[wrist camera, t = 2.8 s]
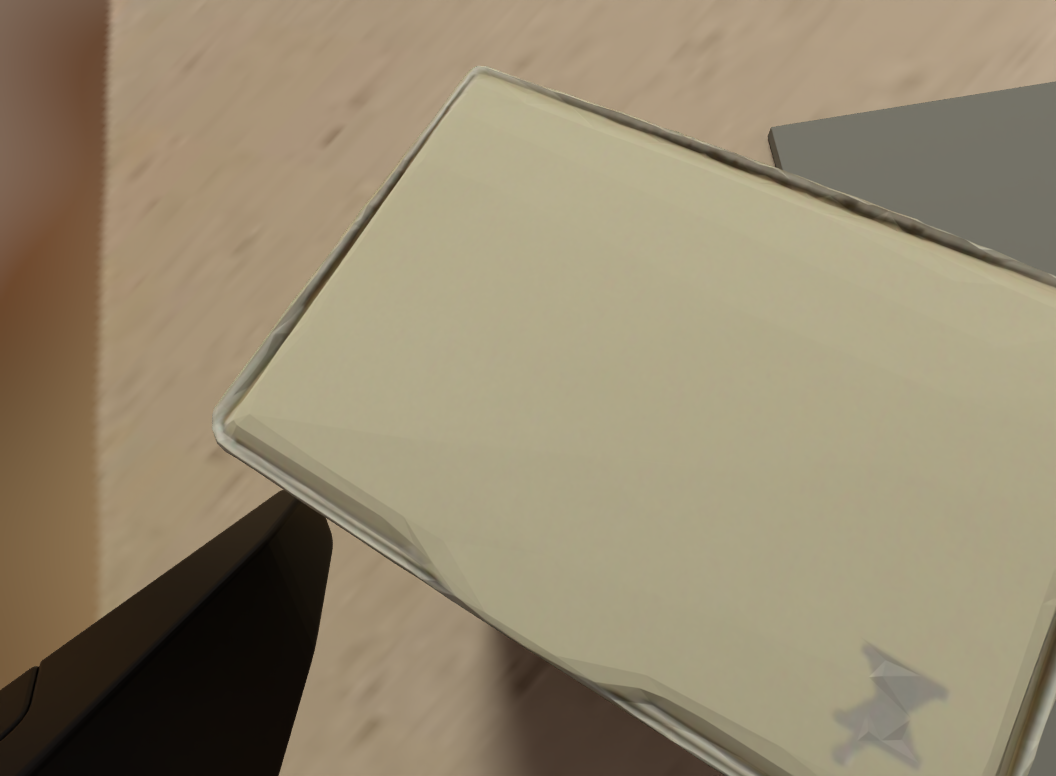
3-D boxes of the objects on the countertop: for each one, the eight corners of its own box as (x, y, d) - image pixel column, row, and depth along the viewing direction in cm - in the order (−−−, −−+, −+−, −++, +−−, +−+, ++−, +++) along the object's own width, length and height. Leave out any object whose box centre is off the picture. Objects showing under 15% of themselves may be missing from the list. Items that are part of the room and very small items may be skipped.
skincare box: (781, 522, 16) (1262, 333, 4) (702, 685, 15) (1043, 1000, 3) (556, 401, 17) (469, 26, 6) (472, 543, 17) (174, 429, 5)
